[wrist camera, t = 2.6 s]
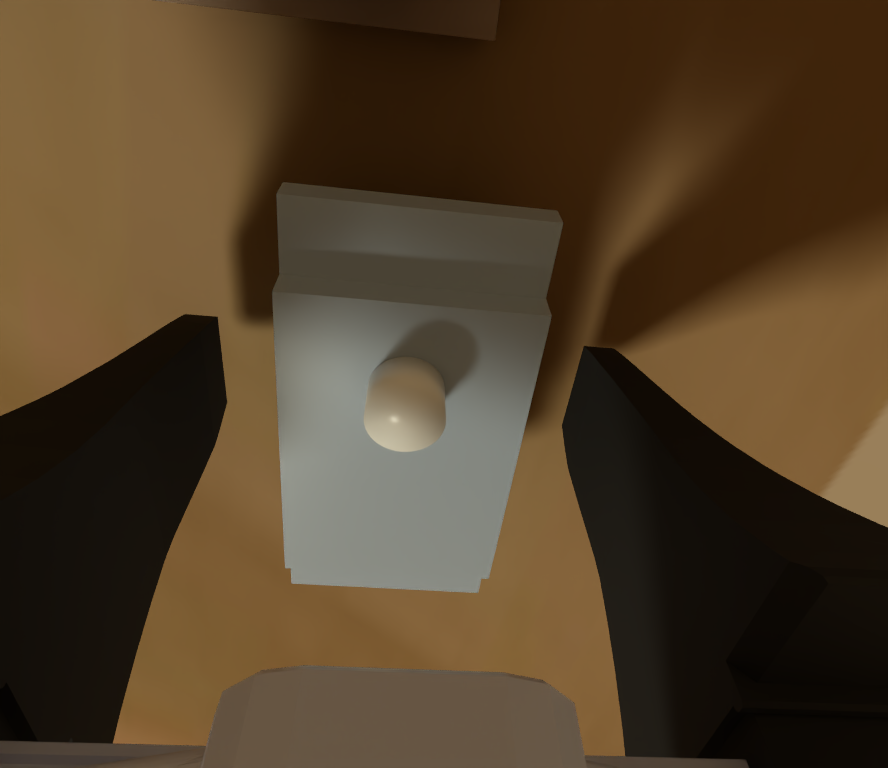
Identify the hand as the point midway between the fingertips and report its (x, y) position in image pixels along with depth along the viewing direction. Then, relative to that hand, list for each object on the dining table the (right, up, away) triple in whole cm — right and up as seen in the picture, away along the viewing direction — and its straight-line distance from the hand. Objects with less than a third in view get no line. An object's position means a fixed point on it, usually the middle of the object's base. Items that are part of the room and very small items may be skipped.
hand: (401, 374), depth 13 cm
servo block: (0, +1, +1) cm, 2 cm away
